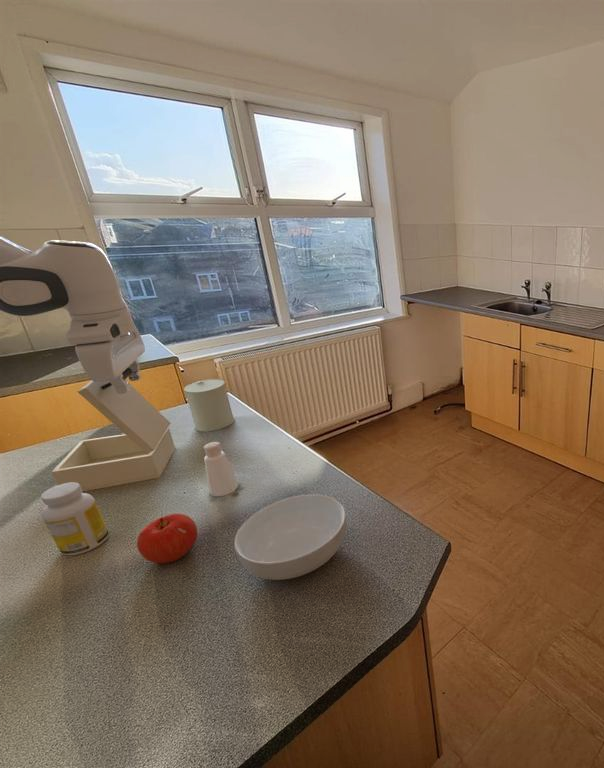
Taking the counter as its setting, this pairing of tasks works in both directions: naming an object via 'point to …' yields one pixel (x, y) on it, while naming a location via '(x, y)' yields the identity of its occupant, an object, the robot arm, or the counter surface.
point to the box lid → (128, 412)
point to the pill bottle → (73, 519)
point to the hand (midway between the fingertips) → (130, 385)
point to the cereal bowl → (291, 536)
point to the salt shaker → (218, 471)
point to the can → (209, 405)
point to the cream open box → (113, 462)
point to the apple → (167, 538)
